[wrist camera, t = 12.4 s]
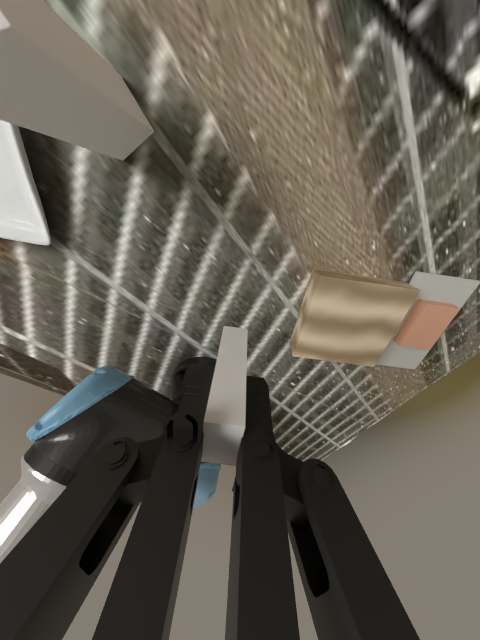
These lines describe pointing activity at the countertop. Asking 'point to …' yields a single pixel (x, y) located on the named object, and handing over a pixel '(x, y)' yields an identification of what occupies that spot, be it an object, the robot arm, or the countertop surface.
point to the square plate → (19, 192)
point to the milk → (63, 84)
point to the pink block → (425, 324)
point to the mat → (432, 290)
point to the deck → (349, 317)
